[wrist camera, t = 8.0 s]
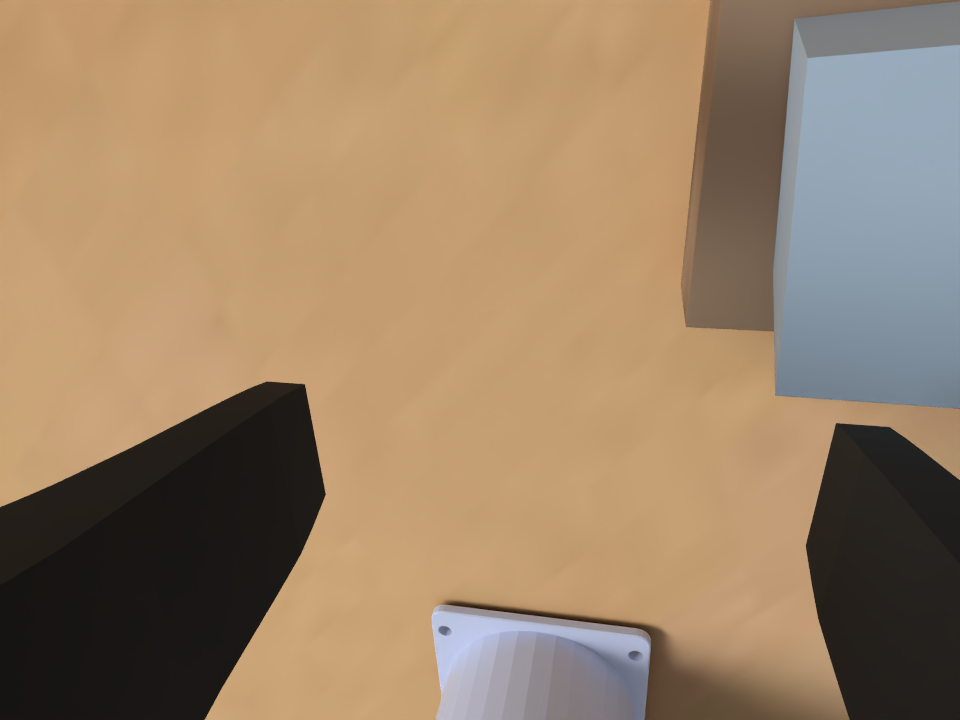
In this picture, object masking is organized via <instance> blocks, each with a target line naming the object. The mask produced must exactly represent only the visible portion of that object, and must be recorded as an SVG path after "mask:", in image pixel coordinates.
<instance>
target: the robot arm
mask: <svg viewBox="0 0 960 720" xmlns="http://www.w3.org/2000/svg"><path fill="white" fill-rule="evenodd" d="M325 495H326V494H325V489H324V484H323V478H322V473H321V468H320V462H319V457H318V452H317V446H316V441H315V436H314V430H313V425H312V420H311V414H310V409H309V404H308V399H307V393H306V388H305V384H293V383H279V382H265V383H262V384H259V385H257V386H254V387H252V388H250V389H247V390H245V391H243V392H241V393H239V394H236V395H234V396H232V397H230V398H228V399H226V400H224V401H222V402H220V403H218V404H216V405H214V406H212V407H210V408H208V409H206V410H204V411H202V412H200V413H198V414H196V415H194V416H193V417H191V418H189V419H187V420H185V421H183V422H181V423H179V424H177V425H175V426H173V427H171V428H169V429H167V430H165V431H163V432H161V433H159V434H157V435H155V436H153V437H151V438H150V439H148V440H146V441H144V442H142V443H140V444H138V445H136V446H134V447H132V448H130V449H128V450H126V451H123V452H121V453H119V454H117V455H115V456H113V457H111V458H109V459H107V460H105V461H102V462H100V463H98V464H96V465H94V466H92V467H90V468H88V469H86V470H83V471H81V472H79V473H77V474H75V475H73V476H71V477H69V478H67V479H64V480H62V481H60V482H58V483H56V484H54V485H52V486H49V487H47V488H45V489H42V490H40V491H38V492H36V493H33V494H31V495H29V496H26V497H24V498H21V499H19V500H17V501H14V502H12V503H10V504H7V505H5V506H2V507H0V720H205V718H206V716H207V714H208V712H209V711H210V709H211V707H212V705H213V703H214V701H215V700H216V698H217V696H218V694H219V692H220V690H221V689H222V687H223V685H224V684H225V682H226V680H227V678H228V677H229V675H230V673H231V672H232V670H233V668H234V667H235V665H236V663H237V662H238V660H239V658H240V657H241V655H242V653H243V652H244V650H245V648H246V647H247V645H248V643H249V642H250V640H251V638H252V637H253V635H254V633H255V632H256V630H257V628H258V627H259V625H260V623H261V621H262V620H263V618H264V616H265V615H266V613H267V611H268V610H269V608H270V606H271V605H272V603H273V601H274V600H275V598H276V596H277V595H278V593H279V591H280V589H281V588H282V586H283V584H284V583H285V581H286V579H287V577H288V576H289V574H290V572H291V571H292V569H293V567H294V565H295V564H296V562H297V560H298V558H299V556H300V555H301V553H302V550H303V548H304V546H305V544H306V541H307V539H308V537H309V534H310V532H311V530H312V528H313V525H314V523H315V520H316V518H317V515H318V513H319V510H320V508H321V505H322V503H323V500H324V497H325ZM806 550H807V556H808V562H809V569H810V575H811V581H812V587H813V593H814V598H815V603H816V609H817V614H818V619H819V623H820V626H821V629H822V633H823V636H824V639H825V643H826V646H827V649H828V652H829V655H830V659H831V662H832V665H833V668H834V672H835V675H836V678H837V681H838V684H839V688H840V691H841V694H842V697H843V700H844V703H845V706H846V710H847V713H848V716H849V719H850V720H960V480H959V479H957V478H956V477H955V476H954V475H952V474H951V473H950V472H949V471H947V470H946V469H945V468H943V467H942V466H941V465H940V464H938V463H937V462H936V461H935V460H933V459H932V458H931V457H929V456H928V455H927V454H926V453H924V452H923V451H922V450H920V449H919V448H918V447H916V446H915V445H914V444H913V443H911V442H910V441H908V440H907V439H906V438H904V437H903V436H902V435H900V434H899V433H897V432H896V431H894V430H893V429H891V428H890V427H880V426H866V425H853V424H839V423H836V426H835V430H834V434H833V438H832V442H831V446H830V450H829V454H828V458H827V462H826V466H825V470H824V475H823V479H822V483H821V487H820V491H819V495H818V499H817V503H816V507H815V511H814V515H813V519H812V523H811V527H810V531H809V535H808V539H807V543H806ZM431 620H432V627H433V635H434V642H435V650H436V657H437V665H438V673H439V680H440V688H441V695H442V698H441V702H440V706H439V709H438V713H437V716H436V720H645V709H646V698H647V687H648V675H649V664H650V653H651V638H650V635H649V634H648V633H647V632H645V631H644V630H642V629H638V628H630V627H622V626H614V625H606V624H598V623H590V622H582V621H574V620H565V619H557V618H549V617H541V616H533V615H525V614H517V613H509V612H501V611H493V610H484V609H476V608H468V607H460V606H452V605H439V606H436V607H435V609H434V611H433V614H432V618H431ZM635 651H638V652H635Z"/></svg>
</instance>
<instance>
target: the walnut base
mask: <svg viewBox="0 0 960 720" xmlns="http://www.w3.org/2000/svg"><path fill="white" fill-rule="evenodd" d="M957 1H960V0H710V8H709V18H708V28H707V37H706V47H705V57H704V66H703V76H702V86H701V95H700V105H699V115H698V124H697V134H696V144H695V153H694V163H693V173H692V182H691V192H690V202H689V212H688V221H687V231H686V241H685V250H684V260H683V270H682V279H681V290H682V299H683V307H684V315H685V323H686V327H695V328H716V329H737V330H757V331H774V295H773V267H774V255H775V243H776V232H777V220H778V208H779V196H780V185H781V173H782V161H783V149H784V137H785V126H786V114H787V102H788V90H789V78H790V67H791V55H792V43H793V31H794V20H795V19H798V18H807V17H816V16H826V15H835V14H845V13H854V12H863V11H873V10H882V9H891V8H901V7H910V6H920V5H929V4H938V3H948V2H957Z"/></svg>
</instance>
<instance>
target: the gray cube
mask: <svg viewBox="0 0 960 720" xmlns="http://www.w3.org/2000/svg"><path fill="white" fill-rule="evenodd" d="M773 295H774V347H775V396H789V397H803V398H817V399H831V400H845V401H859V402H873V403H887V404H901V405H915V406H929V407H943V408H957V409H960V1H957V2H948V3H938V4H929V5H920V6H910V7H901V8H891V9H882V10H873V11H863V12H854V13H845V14H835V15H826V16H816V17H807V18H798V19H795V20H794V31H793V43H792V55H791V67H790V78H789V90H788V102H787V114H786V126H785V137H784V149H783V161H782V173H781V185H780V196H779V208H778V220H777V232H776V243H775V255H774V267H773Z"/></svg>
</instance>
